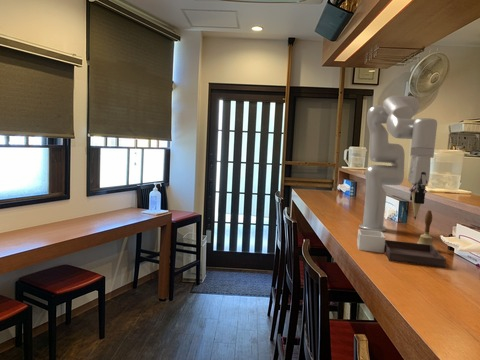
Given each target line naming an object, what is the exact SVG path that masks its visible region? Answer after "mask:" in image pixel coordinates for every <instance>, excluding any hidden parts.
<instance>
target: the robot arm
mask: <svg viewBox="0 0 480 360" xmlns="http://www.w3.org/2000/svg"><path fill="white" fill-rule="evenodd" d="M419 109H420V102H419V99H418V98H417V97H415V96H412V95H411V96H410V95H390V96H388V97H386V98H385V99H384V100H383V102H382V105H380V104H378V105H373V106H371V107H369V108H368V111H367V113H366V114H367V115H366V124H367V129H368V131H369V146H368V147H369V148H368V149H369V152H368V154H369V156H368V157H369V161H371V162H374V163H382V164H371V165H369V166H367V168H366V169H365V172H364V173H365V193H364V194H365V196H364V197H365V199H364V208H363V218H362V223H360V224H359V225H358V227H359V228H360V229H361V230H369V231H379V232H386V231H387V227H386V226H385V225H384V220H385V212H386V203H387V192H386V191H385V189H384V187H383V186H400V185H402V183H403V181H404V178H405V154H406V153H405V149H404V147H403V145H401V144H399V143H390V142H389V134H390V136H392V138H395V139H402V140H404V139H406V140H411V145H410V157H411V161H410V165H409V166H410V167H409V173H408V182H409V183H410V184H411V185H412V184H415V183H416V192H415V198H414V203H417V204H421V205H424V204H425V198H426V197H425V196H426V193H425V190H426V186H427V185H428V184H429V181H430V173H431V165H432V163H431V159H432V158H434V155H435V146H436V138H437V129H438V121H437V119H435V118H421V117H420V118H417V119H415V118H414V119H413V117H414V116H416V115H417V113H418V112H419ZM383 124H385V125H386V127H385V126H384V125H383ZM383 163H384V164H383ZM386 163H387V164H391V165H387V164H386ZM418 183H421V184H418ZM409 200H410V201H411V202H412V194H411V193H410V196H409Z"/></svg>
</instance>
